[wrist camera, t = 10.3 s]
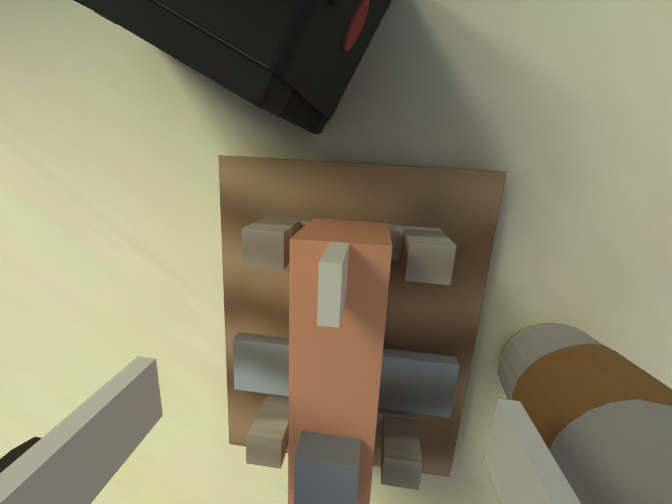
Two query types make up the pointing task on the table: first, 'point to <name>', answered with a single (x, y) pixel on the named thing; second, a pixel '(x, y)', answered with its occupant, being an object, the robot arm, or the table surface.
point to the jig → (402, 305)
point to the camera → (261, 46)
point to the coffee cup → (593, 414)
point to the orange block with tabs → (335, 357)
